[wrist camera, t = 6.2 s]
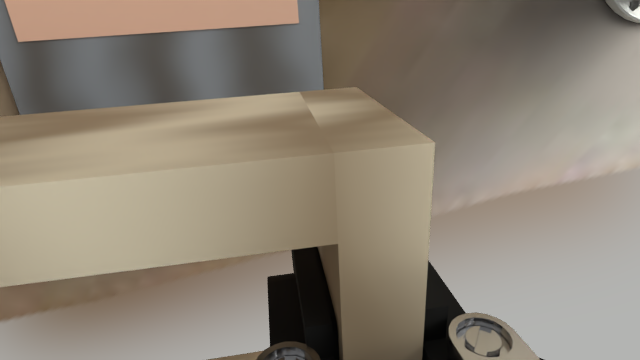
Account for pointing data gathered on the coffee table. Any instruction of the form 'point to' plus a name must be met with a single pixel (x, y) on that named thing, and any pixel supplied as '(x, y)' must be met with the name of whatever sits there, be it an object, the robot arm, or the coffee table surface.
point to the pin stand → (156, 51)
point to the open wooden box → (230, 199)
